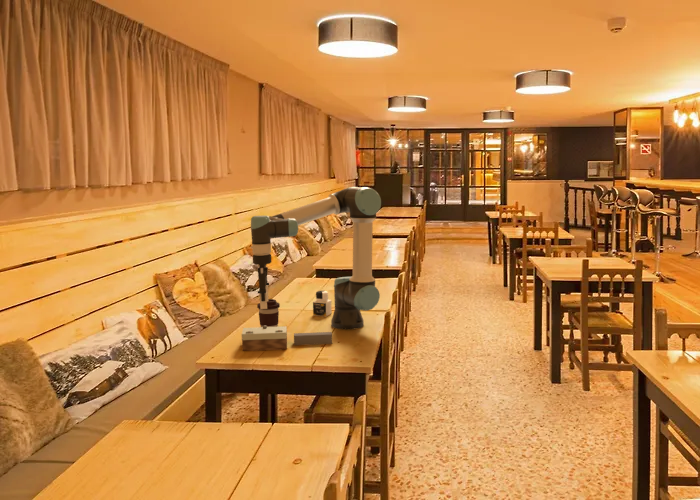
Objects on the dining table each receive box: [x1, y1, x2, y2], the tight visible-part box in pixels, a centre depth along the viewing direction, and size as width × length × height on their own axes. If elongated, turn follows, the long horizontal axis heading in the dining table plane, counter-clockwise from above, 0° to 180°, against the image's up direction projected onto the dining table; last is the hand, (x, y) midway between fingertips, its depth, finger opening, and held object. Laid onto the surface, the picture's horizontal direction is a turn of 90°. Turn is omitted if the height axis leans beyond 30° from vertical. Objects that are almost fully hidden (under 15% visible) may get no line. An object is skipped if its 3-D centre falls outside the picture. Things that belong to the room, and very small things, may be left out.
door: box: [241, 325, 288, 341], centre depth 265 cm, size 18×10×4 cm, turn 95°
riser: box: [293, 331, 333, 346], centre depth 271 cm, size 16×4×4 cm, turn 95°
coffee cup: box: [256, 298, 281, 327], centre depth 288 cm, size 10×10×15 cm
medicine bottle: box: [312, 290, 333, 318], centre depth 321 cm, size 7×7×12 cm
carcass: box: [241, 330, 288, 352], centre depth 268 cm, size 18×12×8 cm
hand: (264, 305), depth 263 cm, fingers open, 13 cm apart
